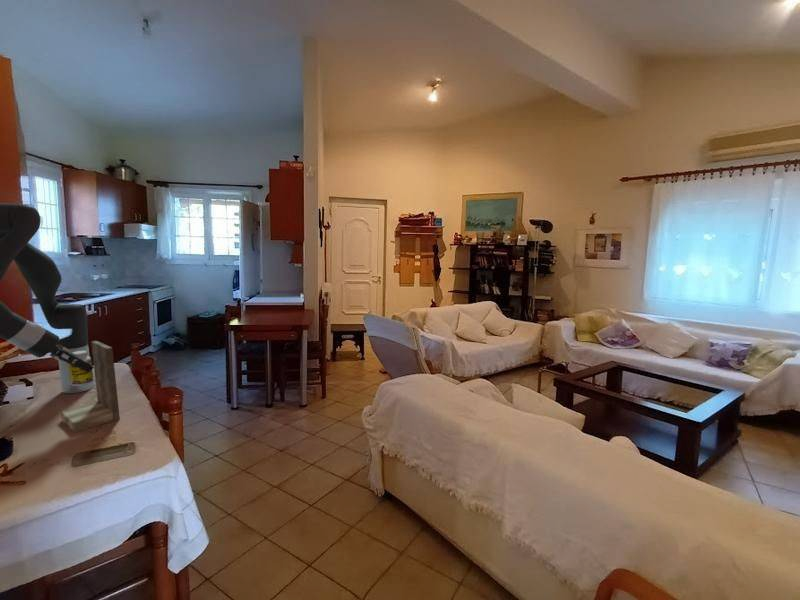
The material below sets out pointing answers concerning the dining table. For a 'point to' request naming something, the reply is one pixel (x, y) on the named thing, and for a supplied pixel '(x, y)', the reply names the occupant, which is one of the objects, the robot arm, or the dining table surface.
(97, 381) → the wooden bookend
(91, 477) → the dining table surface
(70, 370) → the supplement bottle
